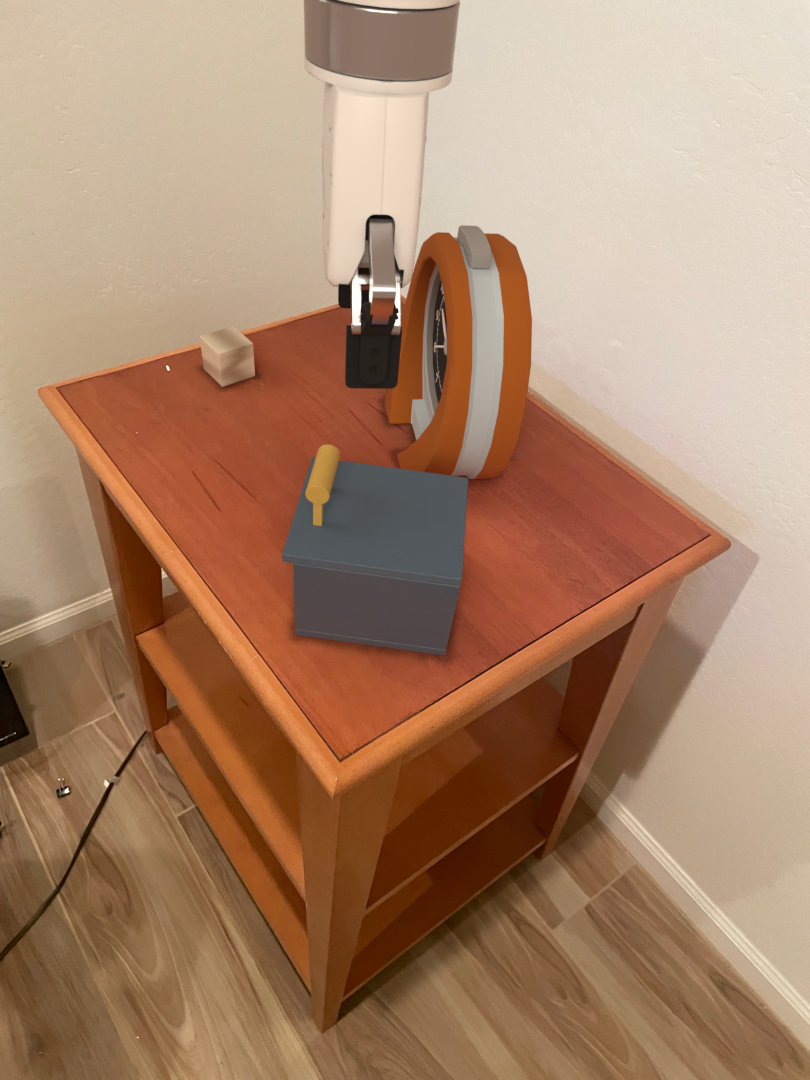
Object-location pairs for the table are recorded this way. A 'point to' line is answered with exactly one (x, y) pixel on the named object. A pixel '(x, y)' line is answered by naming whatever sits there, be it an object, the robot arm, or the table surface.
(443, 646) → the chest
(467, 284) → the alarm clock
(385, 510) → the lid
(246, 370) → the block
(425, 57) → the robot arm
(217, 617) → the table surface
